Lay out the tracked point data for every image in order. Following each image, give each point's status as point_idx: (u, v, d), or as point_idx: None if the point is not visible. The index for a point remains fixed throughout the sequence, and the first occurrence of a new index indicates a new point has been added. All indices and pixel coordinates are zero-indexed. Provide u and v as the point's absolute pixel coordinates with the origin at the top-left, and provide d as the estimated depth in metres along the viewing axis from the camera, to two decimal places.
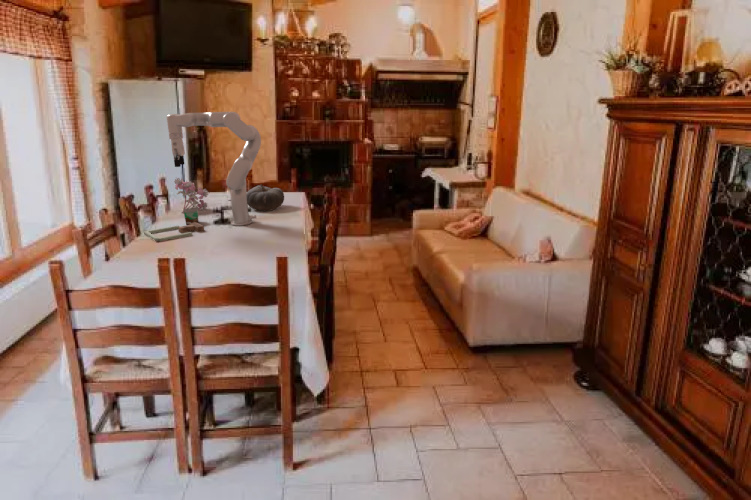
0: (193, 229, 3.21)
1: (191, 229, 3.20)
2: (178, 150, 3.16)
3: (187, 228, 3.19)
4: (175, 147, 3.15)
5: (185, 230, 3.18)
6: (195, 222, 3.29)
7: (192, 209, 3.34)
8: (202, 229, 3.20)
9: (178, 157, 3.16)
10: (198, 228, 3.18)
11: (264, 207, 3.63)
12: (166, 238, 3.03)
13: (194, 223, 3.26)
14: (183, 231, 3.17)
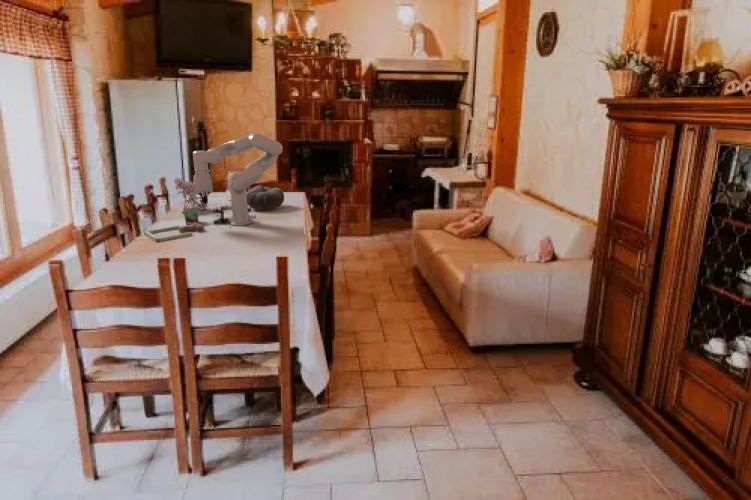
0: (193, 229, 3.21)
1: (191, 229, 3.20)
2: None
3: (187, 228, 3.19)
4: None
5: (185, 230, 3.18)
6: (195, 222, 3.29)
7: (192, 209, 3.34)
8: (202, 229, 3.20)
9: None
10: (198, 228, 3.18)
11: (264, 207, 3.63)
12: (166, 238, 3.03)
13: (194, 223, 3.26)
14: (183, 231, 3.17)
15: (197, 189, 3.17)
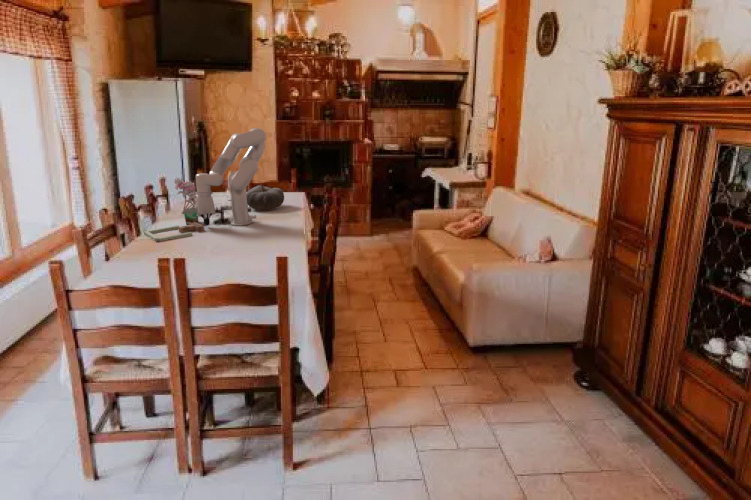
0: (193, 229, 3.21)
1: (191, 229, 3.20)
2: None
3: (187, 228, 3.19)
4: None
5: (185, 230, 3.18)
6: (195, 222, 3.29)
7: (192, 209, 3.34)
8: (202, 229, 3.20)
9: None
10: (198, 228, 3.18)
11: (264, 207, 3.63)
12: (166, 238, 3.03)
13: (194, 223, 3.26)
14: (183, 231, 3.17)
15: (199, 211, 3.21)
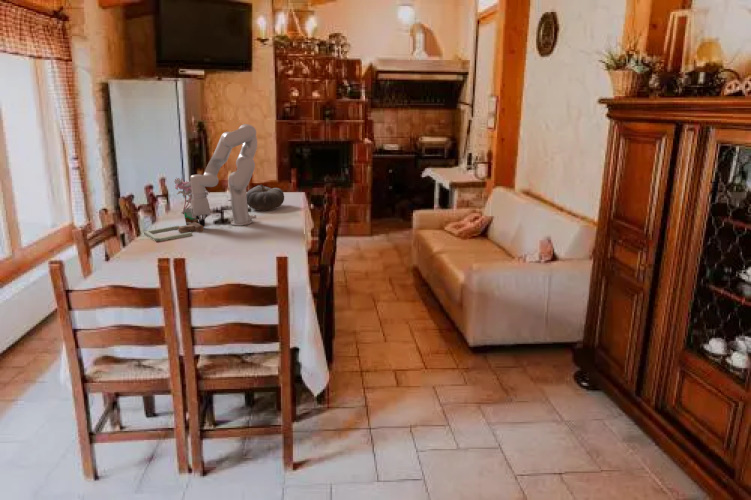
0: (193, 229, 3.21)
1: (191, 229, 3.20)
2: None
3: (187, 228, 3.18)
4: None
5: (185, 230, 3.18)
6: (195, 222, 3.29)
7: None
8: (202, 229, 3.19)
9: None
10: (198, 228, 3.18)
11: (264, 207, 3.63)
12: (166, 238, 3.03)
13: (194, 223, 3.26)
14: (183, 231, 3.17)
15: (194, 213, 3.19)
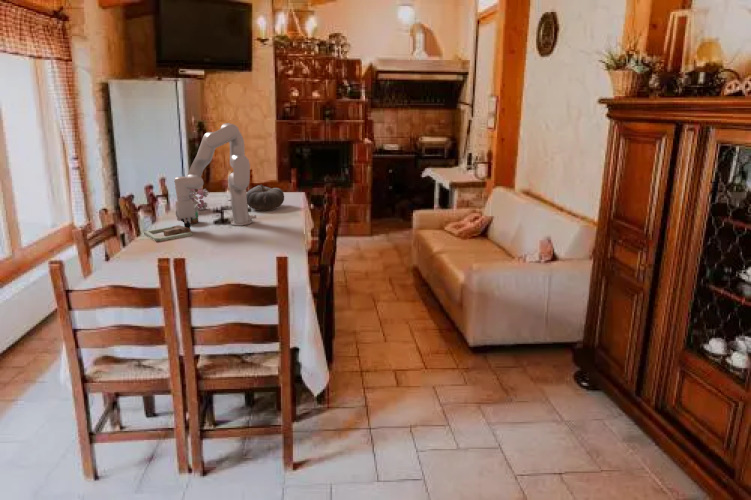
0: (179, 232, 3.15)
1: (177, 232, 3.14)
2: None
3: (173, 231, 3.12)
4: None
5: (171, 233, 3.12)
6: (178, 225, 3.22)
7: None
8: (189, 231, 3.15)
9: None
10: (185, 231, 3.13)
11: (264, 207, 3.63)
12: (166, 238, 3.03)
13: (178, 226, 3.20)
14: (169, 234, 3.11)
15: (179, 215, 3.14)
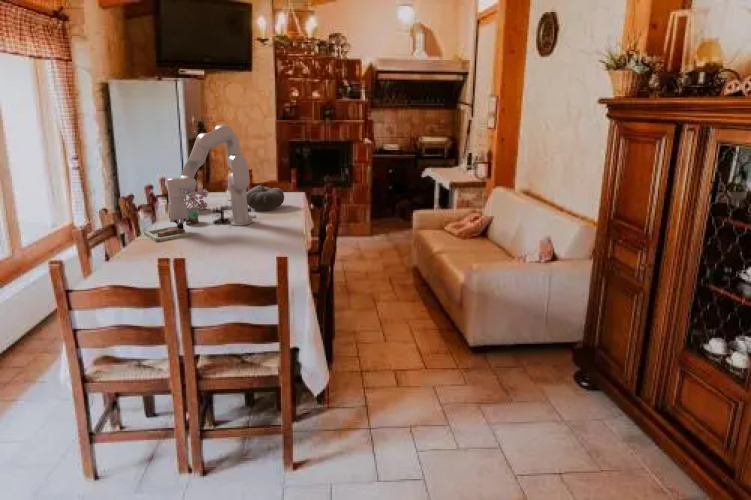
0: (173, 233, 3.12)
1: (171, 234, 3.11)
2: None
3: (167, 233, 3.09)
4: None
5: (166, 235, 3.08)
6: (170, 227, 3.19)
7: (192, 209, 3.34)
8: None
9: None
10: (180, 232, 3.11)
11: (264, 207, 3.63)
12: (166, 238, 3.03)
13: (171, 228, 3.17)
14: (164, 236, 3.08)
15: (172, 217, 3.12)
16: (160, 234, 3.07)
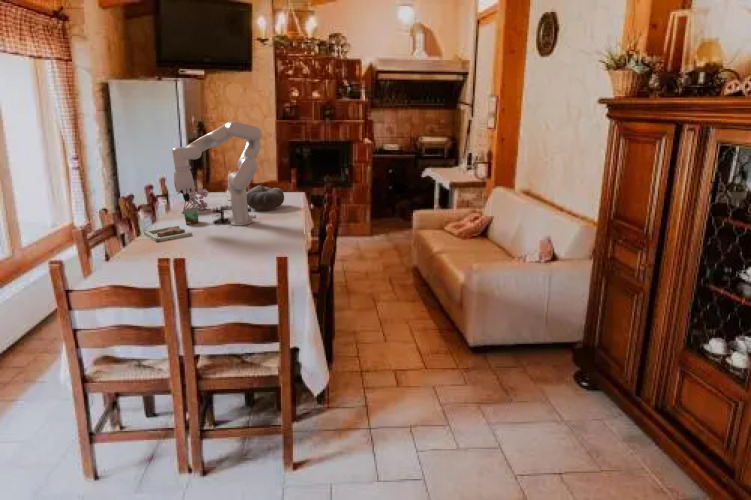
0: (173, 233, 3.12)
1: (171, 234, 3.11)
2: None
3: (167, 233, 3.09)
4: None
5: (165, 235, 3.08)
6: (170, 227, 3.19)
7: (192, 209, 3.34)
8: None
9: None
10: (180, 232, 3.11)
11: (264, 207, 3.63)
12: (166, 238, 3.03)
13: (170, 228, 3.17)
14: (164, 236, 3.08)
15: (178, 186, 3.10)
16: (160, 234, 3.07)
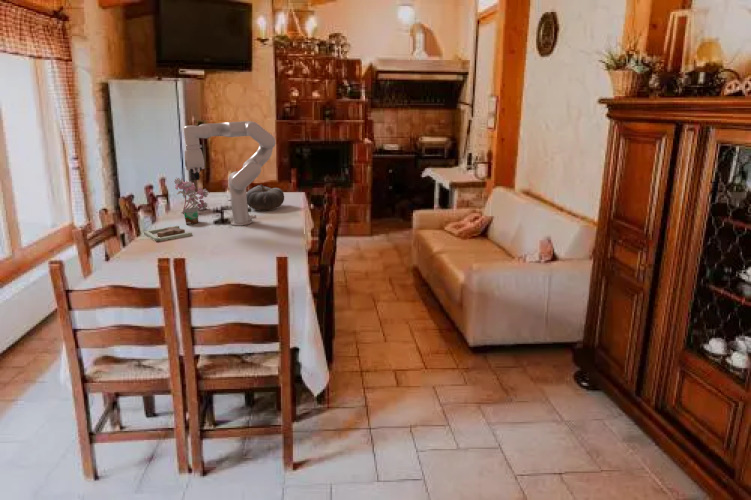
0: (173, 233, 3.12)
1: (171, 234, 3.11)
2: None
3: (167, 233, 3.09)
4: None
5: (165, 235, 3.08)
6: (170, 227, 3.19)
7: (192, 209, 3.34)
8: None
9: None
10: (180, 232, 3.11)
11: (264, 207, 3.63)
12: (166, 238, 3.03)
13: (170, 228, 3.17)
14: (164, 236, 3.08)
15: (188, 165, 3.12)
16: (160, 234, 3.07)
